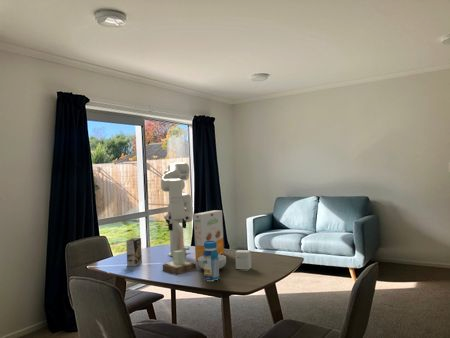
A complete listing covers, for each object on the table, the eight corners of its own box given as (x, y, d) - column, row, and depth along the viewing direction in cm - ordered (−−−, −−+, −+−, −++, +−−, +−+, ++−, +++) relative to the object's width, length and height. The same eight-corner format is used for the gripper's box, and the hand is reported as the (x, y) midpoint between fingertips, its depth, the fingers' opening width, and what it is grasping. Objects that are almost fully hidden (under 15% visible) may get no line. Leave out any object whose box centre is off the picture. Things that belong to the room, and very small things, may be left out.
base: (182, 265, 227) (181, 258, 227) (195, 269, 216) (195, 262, 216) (162, 270, 218) (162, 263, 218) (176, 274, 207) (175, 267, 207)
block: (180, 261, 221) (179, 249, 221) (185, 262, 217) (184, 250, 217) (173, 263, 217) (172, 251, 217) (178, 264, 214) (177, 252, 214)
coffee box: (136, 266, 230) (135, 240, 230) (126, 266, 231) (125, 240, 231) (142, 262, 239) (141, 237, 239) (133, 262, 240) (132, 237, 240)
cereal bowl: (194, 268, 220) (194, 256, 220) (220, 264, 225) (220, 252, 225) (203, 275, 204) (202, 262, 204) (230, 271, 209) (230, 258, 210)
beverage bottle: (220, 281, 191) (218, 242, 191) (204, 282, 190) (202, 243, 190) (219, 276, 199) (217, 239, 199) (203, 277, 199) (201, 240, 199)
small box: (251, 268, 213) (250, 250, 213) (249, 270, 208) (248, 252, 208) (238, 267, 216) (237, 249, 216) (235, 270, 211) (234, 251, 211)
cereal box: (216, 253, 257) (214, 210, 257) (223, 253, 253) (222, 210, 253) (195, 260, 239) (193, 214, 239) (203, 261, 235) (200, 214, 235)
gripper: (184, 198, 226) (185, 226, 226) (160, 201, 214) (161, 230, 214) (191, 199, 220) (193, 227, 220) (167, 201, 209) (168, 232, 209)
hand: (177, 229), depth 217 cm, fingers open, 9 cm apart
